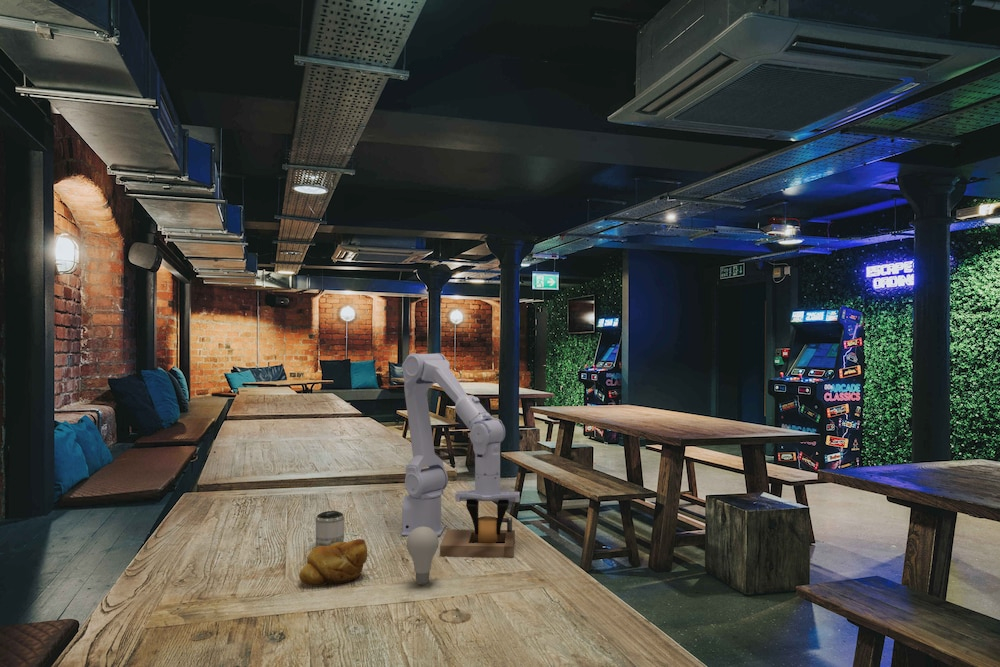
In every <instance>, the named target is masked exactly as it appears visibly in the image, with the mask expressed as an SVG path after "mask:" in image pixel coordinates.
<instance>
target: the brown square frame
mask: <svg viewBox="0 0 1000 667" xmlns="http://www.w3.org/2000/svg"><path fill="white" fill-rule="evenodd" d="M515 540H516V530H515V529H512V532H507V529H500V535H497V542H505V543H472V542H478V534H475V529H460V528H459V529H448V528H447V530H446V531H445V534H444V536H443V538H442V540H441V542H440V545H439V557H440V556H447V557H449V558H450V557H451V558H498V557H503V559H504V558H505V559H507V558H509V559H512V558H513V559H514V558H515V557H514V555H515V545H514V544H515V543H516V541H515ZM447 557H446V558H447Z"/></svg>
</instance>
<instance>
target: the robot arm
mask: <svg viewBox="0 0 1000 667" xmlns="http://www.w3.org/2000/svg"><path fill="white" fill-rule="evenodd" d="M401 368H402V373H403V382H404V384H403V385H404V386H403V387H404V389H403V390H404V397H405V398H404V399H405V404H406V411H407V412H406V413H407V420H408V426H409V427H408V429H409V436H410V443H411V451H412V459H411V460H410V461H408V463H407V465H405V477H404V478H405V479H404V486H405V489H406V492H407V493H408V495H407V494H406V495H404V497H403V499H402V507H401V511H402V512H401V516H402V517H401V524H402V525H401V536H409V534H410V533H411V532H412V531H413V530H414V529H415V528H418V527H422V526H425V527H429V528H431V529H432V530H433V531H434V532H435V533H436V534H437V537H439V536H441V535H442V533H443V531H444V529H445V528H446V526H445V524H442V495H444V490H445V489H446V488H447V486H448V482H449V476H448V473H447V471H446V469H445V466H444V461H443V459H441V458H440V457H439V456H438V455H437V454H436V452H435V446H434V437H433V430H432V425H431V424H432V423H431V422H432V421H431V416H430V409H429V408H430V407H429V400H428V390H430V389H431V387H432V386H433V385H434V384H437V385H438V386H439V387H440V388H441V389H442V390H443V392H445V393H446V395H447V396H448V397H449V398H450V399H451V400H452V402H454V404H455V406H454V411H455V413H456V414H457V416H458V417H459V418H460V419H461V421H462V422H463V424H464V425H465V426H466V427H467V429H468V430H469V431H470V432H468V435H469V439H470V441H471V443H472V447H473V448H472V449H473V451H474V490H473V489H471V490H456V491H455V493H454V494H455V496H454V498H455V499H454V500H455V502H466V504H465V506H466V509H467V512H468V513H469V515H470V517H471V521H472V523H473V530H475V534H478V518H479V505H480V504H479V502H497V504H496V508H497V510H496V511H497V517H496V518H498V521H497V535H500V530H502V529H501V528H502V525H503V524H502V523H503V522H502V521H503V518H505V514H506V513H507V511H508V508H509V504H510V502H514V503H520V500H521V499H520V498H521V496H520V494H521V492H520V491H511V490H501V444H502V442H503V441H504V440H505V437H506V427H505V425H504V424H503V421H502V420H501V419H499V418H496V417H493V416H492V415H491V413H489V412H488V411H487V410H486V409H485V407H484V406H483V404H481V403H480V398H478V396H474V395H473V394H467V393H466V391H465V389H464V388H463V387H462V385H461V384H460V382H459V380H458V379H457V378H456V375H454V373H453V372H452V370H451V369H450V368H451V363H450V361H449V360H447V358H446V356H445V355H444V354H442V353H440V352H436V353H416V352H412V353H410V354H408V355H407V356H406V358H405V360H404V362H403V363H402V364H401Z"/></svg>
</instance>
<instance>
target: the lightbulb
mask: <svg viewBox="0 0 1000 667" xmlns="http://www.w3.org/2000/svg"><path fill="white" fill-rule="evenodd" d="M438 548H439V536H437V534H436V533H435V532H434V531H433V530H432V529H431V528H429V527H425V526H422V527H418V528H415V529H414V530H413V531H412V532H411V533H410V534H409V535H407V538H406V550H407V552H408V554H409V555H410V557H411V560H412V562H413V570H414V572H415V582H416V583H418V584H419V585H420V586H424V585H426V584H427V583H428V582H429V581H430V574H431V573H430V572H431V569H432V562H433V558H434V557H435V555H436V553H437V551H438Z"/></svg>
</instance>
